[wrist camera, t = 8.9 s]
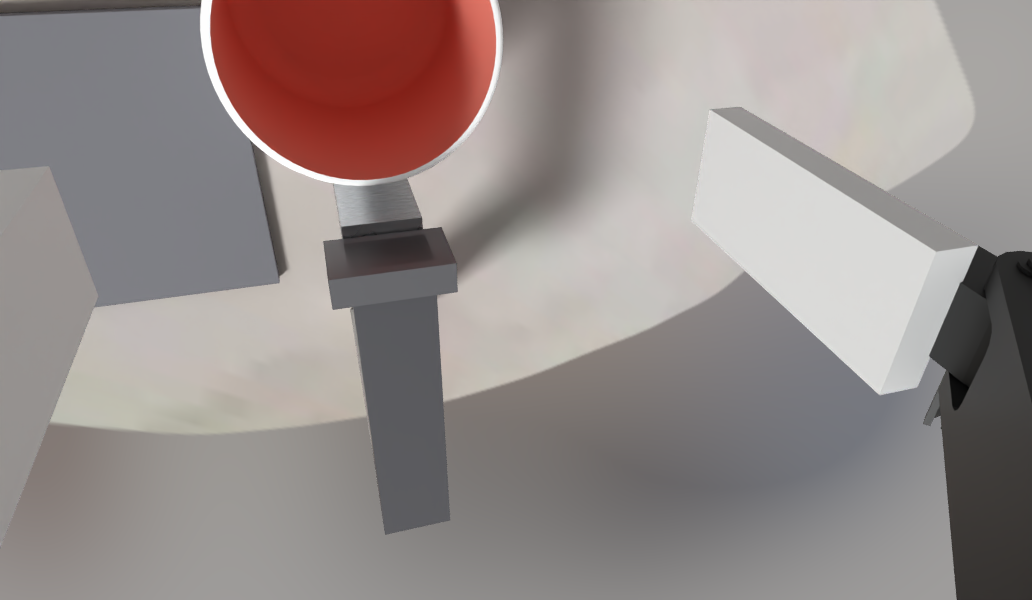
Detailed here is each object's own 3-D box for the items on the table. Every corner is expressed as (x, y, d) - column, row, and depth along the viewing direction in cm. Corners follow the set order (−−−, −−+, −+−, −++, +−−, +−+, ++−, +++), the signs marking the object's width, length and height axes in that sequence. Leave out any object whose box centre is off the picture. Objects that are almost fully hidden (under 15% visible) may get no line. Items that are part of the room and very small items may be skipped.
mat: (-159, 19, 27) (-168, 23, 27) (223, 4, 30) (222, 7, 30) (-13, 315, 35) (-16, 321, 34) (279, 277, 38) (279, 282, 38)
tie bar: (323, 241, 26) (328, 280, 23) (441, 227, 27) (456, 263, 24) (364, 497, 33) (370, 545, 31) (454, 478, 34) (466, 523, 32)
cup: (482, -66, 32) (552, -32, 24) (402, 133, 36) (439, 219, 28) (257, -187, 27) (250, -195, 19) (194, 56, 31) (166, 133, 23)
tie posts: (275, -214, 27) (275, -235, 18) (354, -211, 28) (391, -231, 19) (353, 330, 41) (374, 464, 33) (403, 322, 42) (437, 452, 33)
